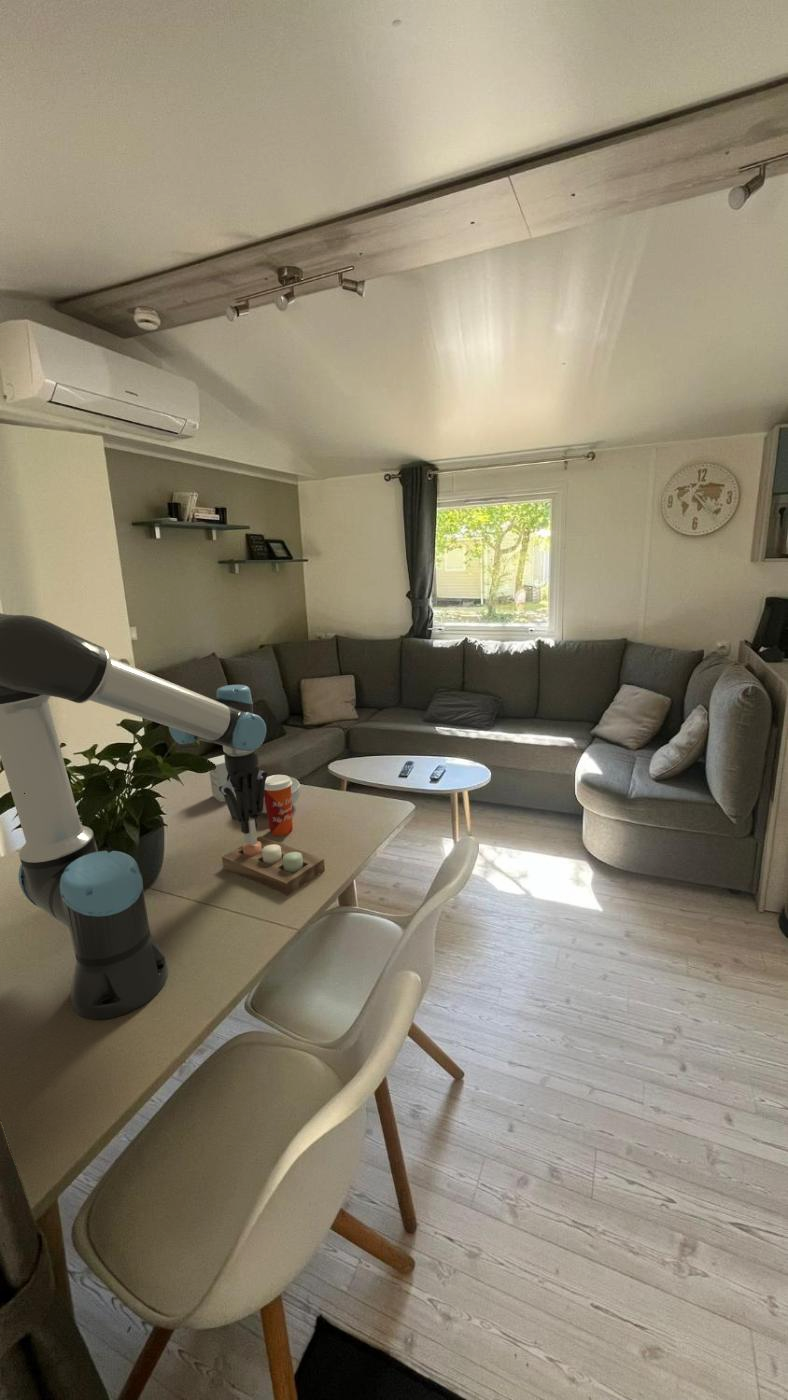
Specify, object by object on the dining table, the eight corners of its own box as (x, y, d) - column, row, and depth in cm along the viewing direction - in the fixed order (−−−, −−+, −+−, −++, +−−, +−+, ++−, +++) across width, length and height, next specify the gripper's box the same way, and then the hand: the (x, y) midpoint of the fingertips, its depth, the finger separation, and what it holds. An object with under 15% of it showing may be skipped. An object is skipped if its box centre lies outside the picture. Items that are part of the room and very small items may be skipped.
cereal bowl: (232, 812, 166) (229, 790, 165) (275, 793, 179) (273, 772, 177) (271, 826, 156) (268, 802, 154) (313, 804, 169) (311, 782, 167)
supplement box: (234, 789, 183) (229, 752, 180) (243, 796, 178) (238, 758, 175) (211, 796, 179) (206, 758, 176) (220, 803, 173) (215, 764, 170)
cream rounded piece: (272, 869, 131) (270, 855, 130) (259, 864, 133) (257, 850, 132) (286, 861, 134) (284, 847, 133) (273, 856, 136) (271, 842, 136)
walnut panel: (287, 895, 123) (286, 883, 122) (223, 868, 136) (221, 856, 135) (324, 870, 132) (323, 858, 132) (261, 846, 145) (260, 836, 144)
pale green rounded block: (293, 878, 127) (292, 863, 126) (280, 872, 129) (278, 858, 128) (307, 869, 130) (306, 855, 129) (293, 864, 132) (292, 850, 132)
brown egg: (252, 864, 135) (250, 851, 134) (240, 859, 137) (238, 846, 136) (266, 856, 138) (264, 843, 137) (254, 852, 141) (252, 839, 140)
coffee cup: (280, 841, 147) (274, 787, 144) (259, 833, 152) (253, 781, 149) (303, 828, 154) (298, 777, 150) (283, 821, 159) (277, 771, 155)
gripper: (228, 762, 124) (239, 859, 129) (272, 745, 134) (281, 836, 140) (207, 756, 128) (219, 850, 134) (251, 741, 138) (261, 829, 144)
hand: (251, 843), depth 137 cm, fingers closed
